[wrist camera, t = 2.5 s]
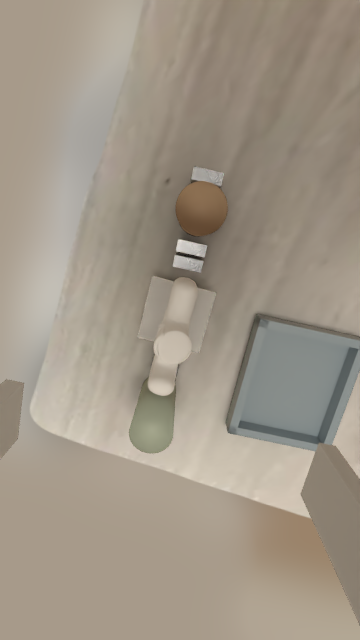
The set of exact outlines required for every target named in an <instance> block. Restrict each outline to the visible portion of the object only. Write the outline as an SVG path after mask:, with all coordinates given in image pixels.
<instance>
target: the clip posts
mask: <svg viewBox="0 0 360 640" xmlns="http://www.w3.org/2000/svg"><path fill="white" fill-rule="evenodd" d="M223 177H224V173H221V172H217V171H213V170H209V169H204V168H200V167H196V166H194V168H193V173H192V178H191V183H194V182H197V181H207V182H210V183H213V184H215V185H216V186H218V187H219V188H220V187H221V185H222V181H223ZM206 249H207V245H203V244H199V243H194V242H190V241H186V240H181V239H178V243H177V248H176V251H178V252H183V253H187V254H191V255H196V256H200V257H205V253H206ZM203 262H204V261H203V260H202V259H201V258H197V257H193V256H188V255H184V254H179V253H176V254H175V257H174V262H173V267H177V268H182V269H186V270H191V271H195V272H200V273H201V270H202V266H203ZM154 356H155V353H154ZM153 359H154V357H153ZM152 362H153V361H152ZM151 366H152V365H151ZM178 368H179V364H178ZM178 368H177V373H178ZM177 373H176V377H177ZM149 375H150V374H149ZM175 381H176V378H175Z"/></svg>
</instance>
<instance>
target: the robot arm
mask: <svg viewBox="0 0 360 640" xmlns="http://www.w3.org/2000/svg"><path fill="white" fill-rule="evenodd" d="M23 388H24V383H22V382H17V381H12V380H5V381H4V382H2V383H1V384H0V459H1V458H2V457H3V456H4V455H5V453H6V452H7V451H8V450H9V449H10V447H11V446H12V445H13V444H14V443H15V441H16V440H17V439H18V433H19V424H20V414H21V406H22V397H23ZM301 496H302V498H303V501H304V503H305V505H306V507H307V509H308V512H309V514H310V516H311V518H312V521H313V523H314V525H315V527H316V529H317V532H318V534H319V536H320V538H321V540H322V543H323V545H324V547H325V549H326V552H327V554H328V556H329V558H330V561H331V563H332V565H333V567H334V569H335V571H336V574H337V576H338V578H339V580H340V583H341V585H342V587H343V589H344V592H345V594H346V596H347V598H348V600H349V602H350V605H351V607H352V609H353V611H354V614H355V616H356V618H357V620H358V623H359V625H360V479H359V478H358V476H357V475H356V473H355V472H354V471H353V469H352V468H351V467H350V465H349V464H348V462H347V461H346V460H345V458H344V457H343V456H342V454H341V453H340V451H339V450H338V449H337V447H336V446H333V445H328V444H323V443H319V444H318V447H317V449H316V452H315V455H314V458H313V461H312V464H311V466H310V469H309V472H308V475H307V478H306V481H305V483H304V486H303V489H302V492H301Z"/></svg>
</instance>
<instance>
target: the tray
mask: <svg viewBox="0 0 360 640" xmlns="http://www.w3.org/2000/svg"><path fill="white" fill-rule="evenodd" d="M359 371H360V337H358V336H354V335H349V334H345V333H340V332H336V331H331V330H327V329H322V328H318V327H313V326H309V325H304V324H300V323H295V322H291V321H286V320H282V319H277V318H273V317H268V316H264V315H259V314H256V317H255V320H254V324H253V327H252V331H251V334H250V338H249V341H248V345H247V349H246V352H245V356H244V359H243V363H242V366H241V370H240V373H239V377H238V380H237V384H236V387H235V391H234V395H233V398H232V402H231V405H230V409H229V412H228V416H227V419H226V426H227V431H228V433H230V434H235V435H240V436H245V437H249V438H254V439H259V440H264V441H268V442H273V443H278V444H283V445H288V446H292V447H297V448H302V449H307V450H312V451H316V449H317V447H318V444H319V443H323V444H328V445H332V443H333V440H334V438H335V435H336V432H337V430H338V427H339V424H340V422H341V419H342V416H343V414H344V411H345V408H346V406H347V403H348V400H349V397H350V395H351V392H352V389H353V387H354V384H355V381H356V379H357V376H358V373H359Z"/></svg>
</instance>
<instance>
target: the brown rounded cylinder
mask: <svg viewBox="0 0 360 640" xmlns="http://www.w3.org/2000/svg"><path fill="white" fill-rule="evenodd" d="M227 210H228V206H227V200H226V197H225V195H224V193H223V192H222V190H221V189H220V188H219V187H218V186H216V185H215V184H213V183H210V182H207V181H197V182H194V183H191V184H189V185H188V186H186V187H185V188H184V189H183V190H182V192H181V193H180V195H179V196H178V199H177V202H176V215H177V219H178V221H179V223H180V225H181V227H182V229H183V230H184V231H185V232H186V233H188V234H190V235H192V236H204V235H208V234H211V233H213V232H215V231H216V230H218V229H219V228H220V227H221V225H222V224H223V223H224V221H225V219H226V216H227Z"/></svg>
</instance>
